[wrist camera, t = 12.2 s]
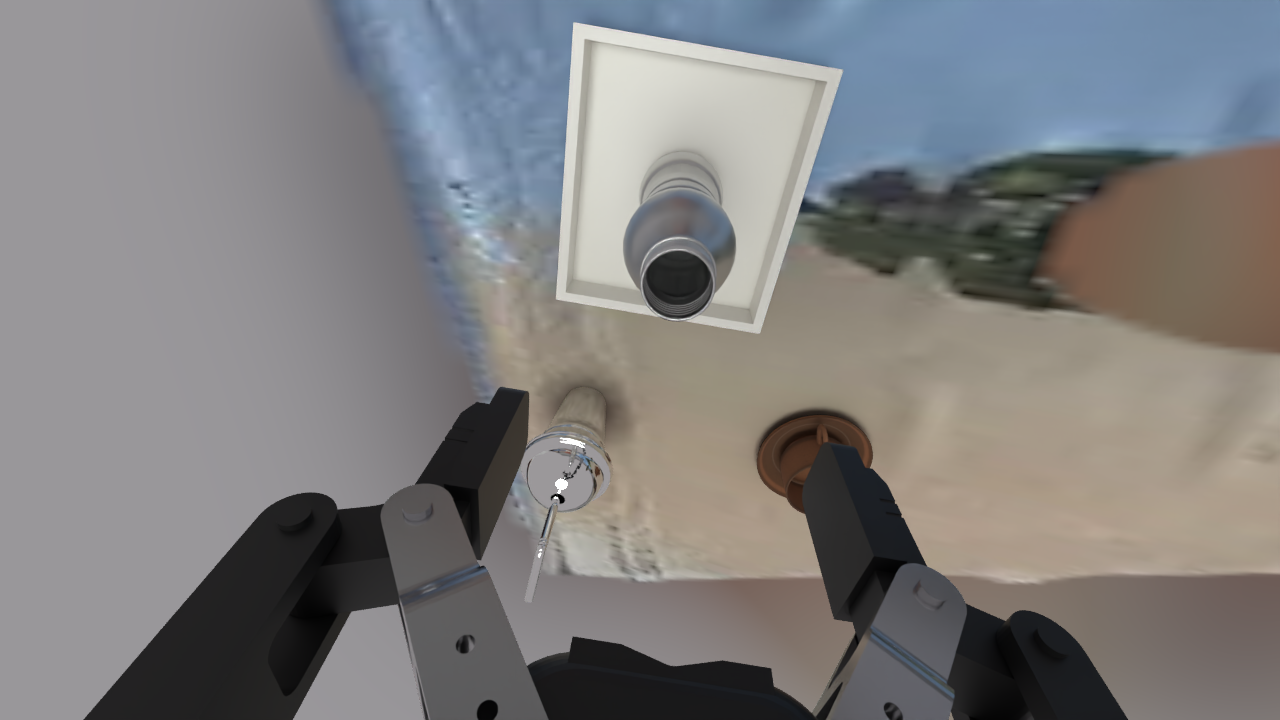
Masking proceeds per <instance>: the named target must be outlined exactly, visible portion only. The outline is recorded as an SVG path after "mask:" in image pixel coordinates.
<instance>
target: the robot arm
mask: <svg viewBox="0 0 1280 720" xmlns="http://www.w3.org/2000/svg"><path fill="white" fill-rule="evenodd" d="M528 417H529V392H528V391H523V390H517V389H511V388H505V387H500V388H499V389H498V390H497V392H496V394H495V396H494V397H493V399H492V401H491V402H490V404H485V403H479V402H476V403H475V404H473V405H472V406H470V407H469V408H468V409H466V410H465V411H463V412H462V413H461V414H460V415H459V417H458V419H457V420H456V422H455V423H454V425H453V427H452V429H451V430H450V431H449V433H448V434H447V436H446V437H445V441H443V442H442V443H441V445H440V447H439V449H438V450H437V451H436V453H435V454H434V456H433V458H432V459H431V461H430V462H429V464H428V465H427V467H426V468H425V470H424V472H423V473H422V475H421V476H420V478H419V479H418V481H417V482H416V484H415V485H412V486H408V487H406V488H403V489H401V490H399V491H398V492H396V493H395V494H393V495H392V496H391V497H390V498H389V499H388V500H387V501H386V502H385V504H381V505H377V506H370V507H360V508H350V509H340V510H337V506H336V504H335V502H334V501H333V500H332V499H331V498H330V497H328V496H327V495H324V494H320V493H301V494H296V495H292V496H289V497H286V498H284V499H281V500H279V501H277V502H276V503H274V504H272V505H271V506H269V507H268V508H267V509H265V510H264V511H263V512H262V513H261V514H260V515H259V516H258V518H257V519H256V520H255V521H254V522H253V523H252V524H251V526H250V527H249V528H248V529H247V530H246V531H245V533H244V534H243V535H242V536H241V537H240V538H239V539H238V541H237V542H236V543H235V544H234V545H233V546H232V548H231V549H230V550H229V551H228V552H227V554H226V555H225V556H224V557H223V558H222V559H221V560H220V562H219V563H218V564H217V565H216V566H215V568H214V569H213V570H212V571H211V572H210V573H209V574H208V576H207V577H206V578H205V579H204V580H203V581H202V583H201V584H200V585H199V586H198V587H197V588H196V590H195V591H194V592H193V593H192V594H191V595H190V596H189V598H188V599H187V600H186V601H185V602H184V603H183V605H182V606H181V607H180V608H179V609H178V611H177V612H176V613H175V614H174V615H173V616H172V617H171V619H170V620H169V621H168V622H167V623H166V624H165V626H164V627H163V628H162V629H161V630H160V631H159V633H158V634H157V635H156V636H155V637H154V638H153V640H152V641H151V642H150V643H149V644H148V645H147V647H146V648H145V649H144V650H143V651H142V652H141V653H140V655H139V656H138V657H137V658H136V659H135V660H134V662H133V663H132V664H131V665H130V666H129V667H128V669H127V670H126V671H125V672H124V673H123V674H122V676H121V677H120V678H119V679H118V680H117V681H116V683H115V684H114V685H113V686H112V687H111V688H110V690H109V691H108V692H107V693H106V694H105V695H104V697H103V698H102V699H101V700H100V701H99V702H98V704H97V705H96V706H95V707H94V708H93V709H92V711H91V712H90V713H89V714H88V715H87V716H86V717H85V719H84V720H293V718H294V716H295V715H296V713H297V711H298V709H299V707H300V705H301V704H302V702H303V700H304V698H305V696H306V694H307V692H308V691H309V689H310V687H311V685H312V683H313V681H314V680H315V678H316V676H317V674H318V672H319V670H320V668H321V666H322V665H323V663H324V661H325V659H326V657H327V655H328V654H329V652H330V650H331V648H332V646H333V644H334V643H335V641H336V639H337V637H338V635H339V633H340V631H341V630H342V628H343V626H344V624H345V622H346V620H347V618H348V617H349V615H350V613H351V611H357V610H364V609H370V608H376V607H383V606H389V605H396V604H398V608H399V613H400V617H401V621H402V625H403V630H404V634H405V638H406V642H407V647H408V651H409V655H410V659H411V664H412V668H413V672H414V677H415V681H416V686H417V690H418V695H419V700H420V704H421V709H422V713H423V718H424V720H949V716H950V712H951V713H952V716H953V718H954V720H1128V719H1127V717H1126V716H1125V714H1124V712H1123V711H1122V709H1121V708H1120V706H1119V705H1118V703H1117V702H1116V700H1115V698H1114V697H1113V695H1112V694H1111V692H1110V690H1109V689H1108V687H1107V686H1106V684H1105V683H1104V681H1103V679H1102V678H1101V676H1100V675H1099V673H1098V672H1097V670H1096V668H1095V667H1094V665H1093V664H1092V662H1091V661H1090V659H1089V657H1088V656H1087V654H1086V653H1085V651H1084V650H1083V648H1082V647H1081V646H1080V644H1079V643H1078V642H1077V641H1076V640H1075V639H1074V638H1073V637H1072V636H1071V635H1070V634H1069V633H1068V632H1067V631H1066V630H1065V629H1063V628H1062V627H1061V626H1059V625H1058V624H1057V623H1055V622H1054V621H1052V620H1050V619H1049V618H1047V617H1045V616H1043V615H1040V614H1038V613H1035V612H1031V611H1026V610H1022V611H1017V612H1015V613H1013V614H1012V615H1011V616H1010V617H1009V619H1007V621H1004V620H1002V619H1000V618H997V617H995V616H993V615H990V614H988V613H986V612H983V611H981V610H979V609H976V608H974V607H972V606H970V605H968V604H966V603H965V601H964V599H963V597H962V595H961V594H960V592H959V591H958V590H957V588H956V587H955V586H954V585H953V584H952V583H951V582H950V581H949V580H948V579H947V578H946V577H945V576H943V575H942V574H940V573H939V572H937V571H935V570H934V569H932V568H929V567H927V565H926V563H925V561H924V559H923V557H922V555H921V553H920V551H919V549H918V547H917V545H916V543H915V541H914V539H913V537H912V535H911V533H910V530H909V528H908V526H907V524H906V522H905V520H904V518H902V517H901V515H902V514H901V512H900V510H899V508H898V506H897V504H895V500H894V498H893V496H892V494H891V492H890V489H889V487H888V485H887V484H886V483H885V482H884V481H883V480H882V479H881V478H880V476H879V475H878V474H877V473H876V472H875V471H874V470H873V469H870V468H865V466H864V464H863V461H862V459H861V457H860V455H859V453H858V451H857V449H856V448H855V447H853V446H848V445H842V444H836V443H830V442H825V443H823V444H822V446H821V447H820V449H819V452H818V454H817V456H816V458H815V460H814V463H813V465H812V467H811V469H810V471H809V473H808V476H807V478H806V480H805V482H804V486H803V492H802V502H803V507H804V511H805V515H806V518H807V522H808V525H809V529H810V533H811V536H812V540H813V544H814V547H815V551H816V555H817V558H818V562H819V566H820V569H821V573H822V577H823V580H824V584H825V588H826V591H827V595H828V599H829V602H830V606H831V610H832V613H833V616H834V619H836V620H842V621H848V622H853V625H854V628H855V633H854V635H853V636H852V638H851V639H850V641H849V643H848V645H847V647H846V649H845V651H844V653H843V655H842V657H841V659H840V661H839V663H838V665H837V667H836V669H835V671H834V672H833V674H832V676H831V678H830V680H829V682H828V684H827V686H826V688H825V690H824V692H823V694H822V696H821V698H820V700H819V701H818V703H817V705H816V707H815V708H814V710H813V712H812V713H811V712H810V711H809V710H808V709H807V708H806V707H804V706H803V705H802V704H801V703H800V702H798V701H797V700H796V699H794V698H793V697H791V696H790V695H788V694H787V693H785V692H783V691H782V690H780V689H778V688H776V687H774V685H773V678H772V672H771V668H765V667H759V666H753V665H747V664H741V663H734V662H728V661H715V662H708V663H700V664H692V665H684V666H669V665H666V664H664V663H662V662H660V661H657V660H655V659H653V658H651V657H648V656H646V655H644V654H642V653H640V652H638V651H635V650H633V649H631V648H629V647H626V646H624V645H622V644H616V643H610V642H604V641H597V640H592V639H585V638H579V637H573V638H572V643H571V648H570V652H566V653H559V654H555V655H551V656H547V657H545V658H542V659H540V660H537V661H535V662H533V663H531V664H529V665H528V666H527V665H526V663H525V660H524V658H523V656H522V653H521V651H520V648H519V646H518V643H517V641H516V638H515V636H514V633H513V631H512V628H511V626H510V623H509V621H508V619H507V616H506V614H505V611H504V609H503V606H502V604H501V601H500V599H499V596H498V594H497V591H496V589H495V587H494V584H493V582H492V579H491V577H490V574H489V572H488V570H487V569H486V567H485V566H481V567H480V566H479V564H478V562H477V560H481V559H482V556H483V553H484V551H485V549H486V547H487V544H488V542H489V539H490V536H491V534H492V532H493V529H494V527H495V524H496V522H497V520H498V517H499V515H500V512H501V510H502V508H503V505H504V503H505V500H506V498H507V495H508V493H509V491H510V488H511V486H512V483H513V481H514V478H515V476H516V474H517V471H518V469H519V466H520V464H521V461H522V459H523V456H524V453H525V449H526V445H527V439H528Z"/></svg>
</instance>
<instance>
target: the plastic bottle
mask: <svg viewBox="0 0 1280 720" xmlns="http://www.w3.org/2000/svg"><path fill="white" fill-rule="evenodd" d="M639 202H640V206H639V207H638V209H637V210H636V211H635V213H634V214H633V216H632V218H631V219H630V221H629V223H628V226H627V228H626V231H625V235H624V239H623V256H624V262H625V265H626V268H627V271H628V273H629V275H630V277H631V279H632V280H633V282H634V284H635V285H636V287H637V288H638V289H639V290H640V291H641V295H642V298H643V300H644V302H645V304H646V305H647V307H648V308H649V309H650V310H651V311H652V312H653V313H654V314H656V315H657V316H659V317H661V318H663V319H665V320H669V321H677V322H679V321H686V320H690V319H693V318H695V317H697V316H698V315H700V314H701V313H702V312H704V311H705V310H706V308H707V307H708V306H709V305H710V303H711V301H712V299H713V297H714V294H715V293H716V292H717V291H718V290H719V288H720V287H721V286H722V285H723V284H724V282H725V280H726V279H727V277H728V275H729V274H730V272H731V270H732V267H733V264H734V261H735V255H736V237H735V233H734V228H733V226H732V224H731V222H730V219H729V217H728V216H727V214H726V212H725V211H724V209H723V208H722V203H723V188H722V183H721V180H720V177H719V175H718V173H717V171H716V170H715V169H714V167H713V166H712V165H711V164H710V163H709V162H708V161H707V160H706V159H704V158H703V157H701V156H699V155H697V154H694V153H691V152H674V153H670V154H668V155H665V156H663V157H662V158H660V159H658V160H657V161H656V162H655V163H654V164H653V165H652V166H651V167H650V168H649V169H648V171H647V172H646V174H645V176H644V178H643V180H642V183H641V187H640V192H639Z"/></svg>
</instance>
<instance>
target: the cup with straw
mask: <svg viewBox="0 0 1280 720" xmlns="http://www.w3.org/2000/svg"><path fill="white" fill-rule="evenodd" d="M605 422H606V401H605V399H604V397H603V396H602V395H601V394H600V393H599V392H598V391H596V390H594V389H592V388H589V387H578V388H575V389H573V390H571V391H570V392H569V393H568V394H567V396H566V398H565V399H564V401H563V402H562V404H561V406H560V408H559V409H558V411H557V413H556V415H555V416H554V418H553V420H552V421H551V423H550V425H549V427H548V428H547V430H546V431H545V432H544V433H543V434H541V435H539V436H537V437H535V438H534V439H532V440H531V441H530V442H529V443H528V444H527V445H526V449H525V453H524V456H523V459H522V461H521V472H522V475H523V478H524V480H525V481H526V483H527V484H528V487H529V490H530V493H531V494H532V496H533V497H534V499H535V500H536V501H537V502H538V503H539V504H540V505H542V506H543V507H545V508H547V509H549V511H548V514H547V518H546V521H545V524H544V527H543V531H542V534H541V537H540V540H539V542H538V546H537V549H536V553H535V557H534V561H533V566H532V570H531V574H530V578H529V582H528V586H527V591H526V595H525V601H526V602H527V603H530V602H532V601H533V599H534V595H535V591H536V587H537V582H538V578H539V575H540V570H541V566H542V562H543V558H544V555H545V551H546V548H547V545H548V542H549V538H550V535H551V531H552V528H553V524H554V521H555V517H556V514H557V512H562V513H567V512H573V511H576V510H579V509H582V508H583V507H585V506H586V505H588V504H589V503H590V502H591V501H593V500H595V499H597V498H598V497H600V496H601V495H602V494H603V493H604V492H605V491H606V489H607V488H608V486H609V484H610V482H611V480H612V476H613V466H612V461H611V459H610V457H609V455H608V454H607V452H606V451H605V445H604V443H605Z"/></svg>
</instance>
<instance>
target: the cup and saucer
mask: <svg viewBox="0 0 1280 720" xmlns="http://www.w3.org/2000/svg"><path fill="white" fill-rule="evenodd" d="M825 442H830V443H836V444H842V445H848V446H853V447H855V448H856V449H857V451H858V453H859V455H860V457H861V459H862V461H863V464H864V466H865V468H870V466H871V463H872V459H873V451H872V446H871V443H870V441H869V439H868V438H867V436H866V435H865V434H864V433H863V432H862V431H861V430H860V429H859V428H858V427H857V426H855V425H854V424H852V423H851V422H849V421H846V420H844V419H841V418H838V417H833V416H826V415H814V416H806V417H801V418H798V419H795V420H792V421H789V422H787V423H785V424H783V425H781V426H780V427H778V428H777V429H775V430H774V431H773V432H772V433H771V434H770V435H769V436H768V437H767V438H766V439H765V441H764V442H763V444H762V445H761V448H760V450H759V453H758V458H757V469H758V473H759V475H760V477H761V479H762V481H763V482H764V484H765V485H766V486H767V487H768V488H769V489H771V490H772V491H773V492H775V493H777V494H779V495H781V496H783V497H786V498H787V500H788V502H789V503H790V505H791V506H792V507H793V508H795V509H796V510H797V511H799V512H801V513H804V514H805V511H804V507H803V502H802V492H803V486H804V482H805V480H806V478H807V476H808V473H809V471H810V469H811V467H812V465H813V463H814V460H815V458H816V456H817V454H818V452H819V449H820V447H821V446H822V444H823V443H825Z"/></svg>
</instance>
